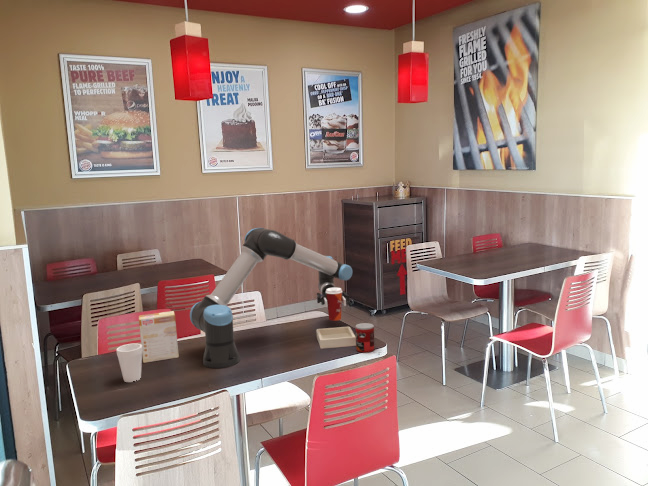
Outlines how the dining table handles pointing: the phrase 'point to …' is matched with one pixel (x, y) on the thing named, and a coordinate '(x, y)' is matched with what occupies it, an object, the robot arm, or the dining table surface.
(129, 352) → the foam cup
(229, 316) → the robot arm
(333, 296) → the paper cup
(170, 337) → the coffeecake box
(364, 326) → the canned food
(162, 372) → the dining table surface
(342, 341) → the tray
